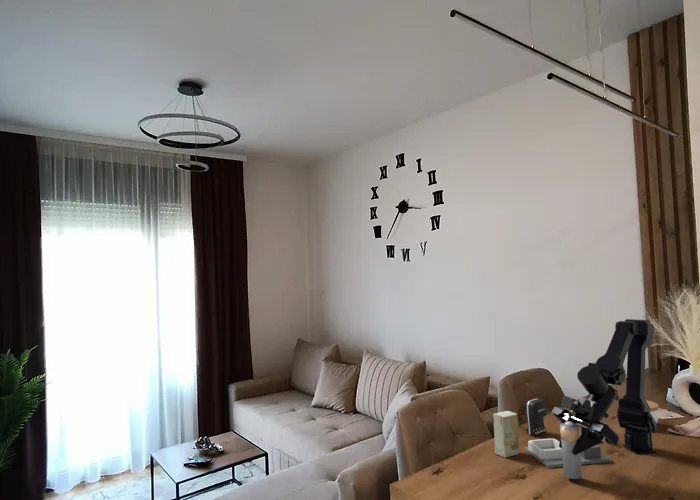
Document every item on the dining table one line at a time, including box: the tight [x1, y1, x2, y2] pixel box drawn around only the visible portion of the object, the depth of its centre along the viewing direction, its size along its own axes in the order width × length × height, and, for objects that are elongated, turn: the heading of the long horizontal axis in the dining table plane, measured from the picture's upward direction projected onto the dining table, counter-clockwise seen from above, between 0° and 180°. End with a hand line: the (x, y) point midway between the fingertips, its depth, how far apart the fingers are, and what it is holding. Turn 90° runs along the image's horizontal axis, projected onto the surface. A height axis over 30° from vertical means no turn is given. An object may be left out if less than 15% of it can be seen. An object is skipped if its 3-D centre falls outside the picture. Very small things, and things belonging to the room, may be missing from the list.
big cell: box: [559, 422, 583, 480], centre depth 124 cm, size 4×4×14 cm
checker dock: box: [524, 438, 612, 469], centre depth 139 cm, size 19×14×5 cm
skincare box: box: [492, 410, 520, 459], centre depth 143 cm, size 6×4×12 cm
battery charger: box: [525, 398, 548, 437], centre depth 157 cm, size 7×4×11 cm, turn 121°
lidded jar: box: [645, 399, 660, 424], centre depth 160 cm, size 11×11×9 cm
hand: (566, 450), depth 123 cm, fingers closed on big cell, 4 cm apart
